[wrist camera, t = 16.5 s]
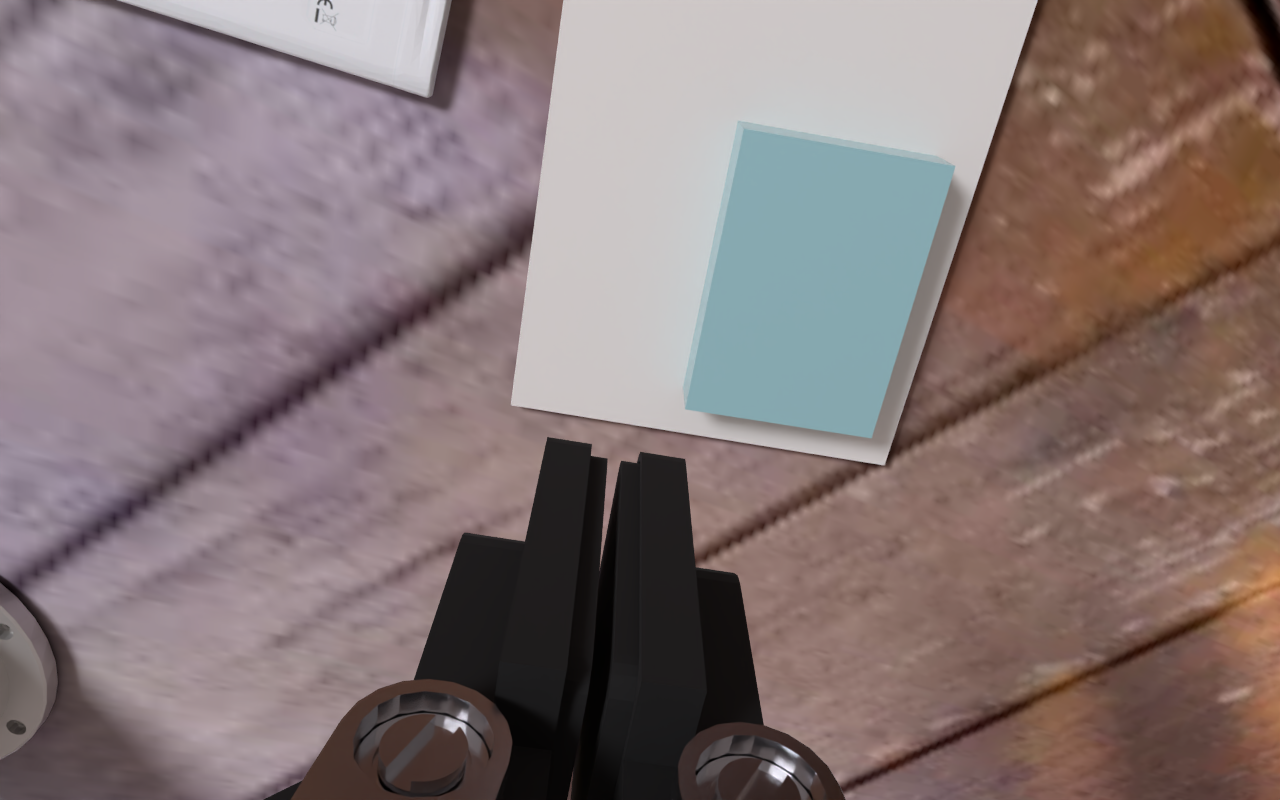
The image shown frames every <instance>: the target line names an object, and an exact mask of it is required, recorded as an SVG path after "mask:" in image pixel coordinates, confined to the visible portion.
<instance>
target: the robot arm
mask: <svg viewBox="0 0 1280 800" xmlns="http://www.w3.org/2000/svg"><path fill="white" fill-rule="evenodd" d="M591 447H592V444H587V443H581V442H574V441H568V440H562V439H556V438H549V437H547V442H546V446H545V451H544V456H543V460H542V465H541V470H540V474H539V479H538V484H537V488H536V493H535V498H534V503H533V507H532V512H531V517H530V521H529V526H528V531H527V535H526V540H525V542H524V541H517V540H511V539H504V538H497V537H491V536H484V535H477V534H471V533H464V534H463V535H462V538H461V540H460V543H459V546H458V549H457V552H456V555H455V558H454V561H453V564H452V567H451V570H450V573H449V576H448V579H447V582H446V585H445V588H444V591H443V594H442V597H441V600H440V603H439V606H438V609H437V612H436V615H435V618H434V621H433V624H432V627H431V630H430V633H429V636H428V639H427V642H426V645H425V648H424V651H423V654H422V657H421V660H420V663H419V666H418V669H417V672H416V675H415V678H414V680H411V681H402V682H399V683H396V684H393V685H390V686H386V687H383V688H380V689H378V690H376V691H374V692H373V693H371V694H370V695H368V696H366V697H365V698H363V699H361V700H360V701H358V702H357V703H356V704H355V705H354V706H353V707H352V708H351V710H350V711H349V712H348V713H347V714H346V715H345V716H344V717H343V718H342V720H341V721H340V723H339V724H338V726H337V727H336V729H335V731H334V732H333V734H332V735H331V737H330V738H329V740H328V742H327V743H326V745H325V746H324V748H323V749H322V751H321V752H320V754H319V756H318V757H317V759H316V760H315V762H314V763H313V765H312V767H311V768H310V770H309V771H308V773H307V774H306V776H305V778H304V779H303V781H301V782H299V783H297V784H295V785H293V786H290V787H288V788H286V789H284V790H282V791H280V792H278V793H276V794H274V795H272V796H270V797H268V798H266V799H264V800H567V797H568V792H569V787H570V782H571V777H572V772H573V781H572V792H571V800H846V799H845V797H844V795H843V792H842V790H841V787H840V786H839V784H838V782H837V781H836V779H835V777H834V776H833V774H832V772H831V771H830V769H829V767H828V766H827V765H826V764H825V763H824V762H823V761H822V760H821V759H820V758H819V757H818V756H817V755H816V754H815V753H814V752H813V751H812V750H811V749H810V748H809V747H807V746H805V745H804V744H802V743H801V742H799V741H798V740H796V739H794V738H793V737H791V736H790V735H788V734H786V733H783V732H780V731H778V730H775V729H772V728H770V727H767V726H764V724H763V718H762V712H761V706H760V700H759V694H758V688H757V682H756V676H755V670H754V664H753V658H752V652H751V646H750V640H749V634H748V628H747V622H746V616H745V610H744V604H743V598H742V592H741V586H740V582H739V578H738V576H737V575H736V574H735V573H730V572H723V571H716V570H710V569H703V568H696V567H695V557H694V546H693V535H692V525H691V514H690V503H689V493H688V482H687V471H686V462H685V459H681V458H675V457H669V456H662V455H656V454H650V453H644V452H640V454H639V457H638V461H637V463H632V462H626V461H621V463H620V467H619V472H618V477H617V482H616V488H615V493H614V498H613V503H612V508H611V514H610V519H609V524H608V529H607V535H606V540H605V545H604V550H603V555H602V561H601V566H600V555H601V542H602V528H603V514H604V501H605V487H606V474H607V458H600V457H594V456H591ZM599 569H600V571H599ZM57 685H58V678H57V669H56V661H55V658H54V656H53V653H52V650H51V647H50V644H49V642H48V639H47V638H46V636H45V634H44V633H43V631H42V629H41V628H40V626H39V624H38V623H37V621H36V619H35V618H34V617H33V615H32V614H31V613H30V612H29V611H28V610H27V608H26V607H25V606H24V605H23V604H22V602H21V601H20V600H19V599H18V598H17V597H16V596H15V595H14V594H13V593H11V592H10V591H9V590H8V589H7V588H6V587H5V586H3V585H2V584H1V583H0V760H1V759H3V758H5V757H7V756H9V755H10V754H12V753H14V752H16V751H17V750H19V749H20V748H21V747H22V746H23V745H24V744H25V743H26V742H27V741H29V740H30V739H31V738H32V737H33V735H34V734H35V733H36V731H37V730H38V729H39V728H40V726H41V725H42V724H43V723H44V721H45V720H46V719H47V718H48V715H49V713H50V711H51V709H52V707H53V704H54V702H55V698H56V692H57ZM573 767H574V769H573Z"/></svg>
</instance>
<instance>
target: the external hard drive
mask: <svg viewBox="0 0 1280 800" xmlns="http://www.w3.org/2000/svg"><path fill="white" fill-rule="evenodd" d="M118 1H121V2H124V3H127V4H130V5H134V6H137V7H140V8H143V9H146V10H149V11H152V12H156V13H159V14H162V15H165V16H168V17H171V18H175V19H178V20H181V21H184V22H187V23H191V24H194V25H197V26H200V27H203V28H207V29H210V30H213V31H216V32H219V33H223V34H226V35H229V36H232V37H235V38H238V39H242V40H245V41H248V42H251V43H254V44H257V45H260V46H264V47H267V48H270V49H273V50H276V51H280V52H283V53H286V54H289V55H292V56H295V57H299V58H302V59H305V60H308V61H311V62H314V63H318V64H321V65H324V66H327V67H330V68H334V69H337V70H340V71H343V72H346V73H349V74H353V75H356V76H359V77H363V78H366V79H369V80H372V81H375V82H378V83H382V84H385V85H388V86H392V87H395V88H398V89H401V90H404V91H407V92H410V93H413V94H417V95H420V96H423V97H426V98H429V97H431V96H432V95H433V91H434V86H435V80H436V75H437V70H438V66H439V61H440V56H441V51H442V46H443V41H444V36H445V31H446V26H447V21H448V17H449V12H450V7H451V2H452V0H118Z"/></svg>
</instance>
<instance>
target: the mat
mask: <svg viewBox="0 0 1280 800" xmlns="http://www.w3.org/2000/svg"><path fill="white" fill-rule="evenodd" d="M1037 1H1038V0H564V1H563V8H562V16H561V24H560V31H559V39H558V47H557V54H556V62H555V70H554V77H553V85H552V93H551V100H550V108H549V116H548V123H547V131H546V139H545V146H544V154H543V162H542V169H541V177H540V185H539V192H538V200H537V208H536V215H535V223H534V231H533V238H532V246H531V254H530V261H529V269H528V277H527V284H526V292H525V300H524V307H523V315H522V323H521V330H520V338H519V346H518V353H517V361H516V369H515V376H514V384H513V392H512V399H511V405H513V406H519V407H525V408H531V409H538V410H544V411H550V412H556V413H562V414H569V415H575V416H581V417H587V418H593V419H600V420H606V421H612V422H618V423H624V424H631V425H637V426H643V427H649V428H655V429H662V430H668V431H674V432H680V433H686V434H693V435H699V436H705V437H711V438H717V439H724V440H730V441H736V442H742V443H748V444H755V445H761V446H767V447H773V448H779V449H786V450H792V451H798V452H804V453H810V454H817V455H823V456H829V457H835V458H841V459H848V460H854V461H860V462H866V463H872V464H879V465H885V462H886V459H887V456H888V453H889V450H890V447H891V444H892V441H893V438H894V435H895V432H896V429H897V426H898V423H899V420H900V417H901V414H902V411H903V408H904V405H905V402H906V399H907V396H908V393H909V390H910V386H911V383H912V380H913V377H914V374H915V371H916V368H917V365H918V362H919V359H920V356H921V353H922V350H923V347H924V344H925V341H926V338H927V335H928V332H929V329H930V326H931V323H932V320H933V317H934V314H935V311H936V308H937V305H938V301H939V298H940V295H941V292H942V289H943V286H944V283H945V280H946V277H947V274H948V271H949V268H950V265H951V262H952V259H953V256H954V253H955V250H956V247H957V244H958V241H959V238H960V235H961V232H962V229H963V226H964V223H965V219H966V216H967V213H968V210H969V207H970V204H971V201H972V198H973V195H974V192H975V189H976V186H977V183H978V180H979V177H980V174H981V171H982V168H983V165H984V162H985V159H986V156H987V153H988V150H989V147H990V144H991V141H992V138H993V134H994V131H995V128H996V125H997V122H998V119H999V116H1000V113H1001V110H1002V107H1003V104H1004V101H1005V98H1006V95H1007V92H1008V89H1009V86H1010V83H1011V80H1012V77H1013V74H1014V71H1015V68H1016V65H1017V62H1018V59H1019V56H1020V53H1021V49H1022V46H1023V43H1024V40H1025V37H1026V34H1027V31H1028V28H1029V25H1030V22H1031V19H1032V16H1033V13H1034V10H1035V7H1036V4H1037ZM738 121H743V122H749V123H755V124H760V125H766V126H772V127H777V128H783V129H788V130H794V131H800V132H805V133H811V134H817V135H822V136H828V137H833V138H839V139H845V140H850V141H856V142H862V143H867V144H873V145H878V146H884V147H890V148H895V149H901V150H907V151H912V152H918V153H923V154H929V155H935V156H938V157H940V158H942V159H944V160H945V161H947V162H949V163H951V164H953V165H955V170H954V173H953V176H952V179H951V183H950V186H949V189H948V192H947V196H946V199H945V202H944V205H943V209H942V212H941V215H940V218H939V222H938V225H937V228H936V231H935V235H934V238H933V241H932V244H931V247H930V251H929V254H928V257H927V260H926V264H925V267H924V270H923V273H922V277H921V280H920V283H919V286H918V290H917V293H916V296H915V299H914V303H913V306H912V309H911V312H910V316H909V319H908V322H907V325H906V328H905V332H904V335H903V338H902V341H901V345H900V348H899V351H898V354H897V358H896V361H895V364H894V367H893V371H892V374H891V377H890V380H889V384H888V387H887V390H886V393H885V397H884V400H883V403H882V406H881V409H880V413H879V416H878V419H877V422H876V426H875V429H874V432H873V435H872V438H866V437H859V436H853V435H846V434H840V433H834V432H827V431H821V430H814V429H808V428H801V427H795V426H789V425H782V424H776V423H769V422H763V421H756V420H750V419H744V418H737V417H731V416H724V415H718V414H711V413H705V412H698V411H692V410H686V409H685V404H684V394H683V384H684V379H685V374H686V370H687V365H688V360H689V355H690V350H691V345H692V340H693V336H694V331H695V326H696V321H697V316H698V311H699V307H700V302H701V297H702V292H703V287H704V282H705V277H706V273H707V268H708V263H709V258H710V253H711V248H712V243H713V239H714V234H715V229H716V224H717V219H718V214H719V210H720V205H721V200H722V195H723V190H724V185H725V180H726V176H727V171H728V166H729V161H730V156H731V151H732V146H733V142H734V137H735V132H736V127H737V122H738Z"/></svg>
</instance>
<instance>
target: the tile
mask: <svg viewBox="0 0 1280 800" xmlns="http://www.w3.org/2000/svg"><path fill="white" fill-rule="evenodd" d="M954 170H955V165H953V164H951V163H949V162H947V161H945V160H944V159H942V158H940V157H938V156H935V155H929V154H923V153H918V152H912V151H907V150H901V149H895V148H890V147H884V146H878V145H873V144H867V143H862V142H856V141H850V140H845V139H839V138H833V137H828V136H822V135H817V134H811V133H805V132H800V131H794V130H788V129H783V128H777V127H772V126H766V125H760V124H755V123H749V122H743V121H738V122H737V127H736V132H735V137H734V142H733V146H732V151H731V156H730V161H729V166H728V171H727V176H726V180H725V185H724V190H723V195H722V200H721V205H720V210H719V214H718V219H717V224H716V229H715V234H714V239H713V243H712V248H711V253H710V258H709V263H708V268H707V273H706V277H705V282H704V287H703V292H702V297H701V302H700V307H699V311H698V316H697V321H696V326H695V331H694V336H693V340H692V345H691V350H690V355H689V360H688V365H687V370H686V374H685V379H684V384H683V394H684V404H685V409H686V410H692V411H698V412H705V413H711V414H718V415H724V416H731V417H737V418H744V419H750V420H756V421H763V422H769V423H776V424H782V425H789V426H795V427H801V428H808V429H814V430H821V431H827V432H834V433H840V434H846V435H853V436H859V437H866V438H872V435H873V432H874V429H875V426H876V422H877V419H878V416H879V413H880V409H881V406H882V403H883V400H884V397H885V393H886V390H887V387H888V384H889V380H890V377H891V374H892V371H893V367H894V364H895V361H896V358H897V354H898V351H899V348H900V345H901V341H902V338H903V335H904V332H905V328H906V325H907V322H908V319H909V316H910V312H911V309H912V306H913V303H914V299H915V296H916V293H917V290H918V286H919V283H920V280H921V277H922V273H923V270H924V267H925V264H926V260H927V257H928V254H929V251H930V247H931V244H932V241H933V238H934V235H935V231H936V228H937V225H938V222H939V218H940V215H941V212H942V209H943V205H944V202H945V199H946V196H947V192H948V189H949V186H950V183H951V179H952V176H953V173H954Z"/></svg>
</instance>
